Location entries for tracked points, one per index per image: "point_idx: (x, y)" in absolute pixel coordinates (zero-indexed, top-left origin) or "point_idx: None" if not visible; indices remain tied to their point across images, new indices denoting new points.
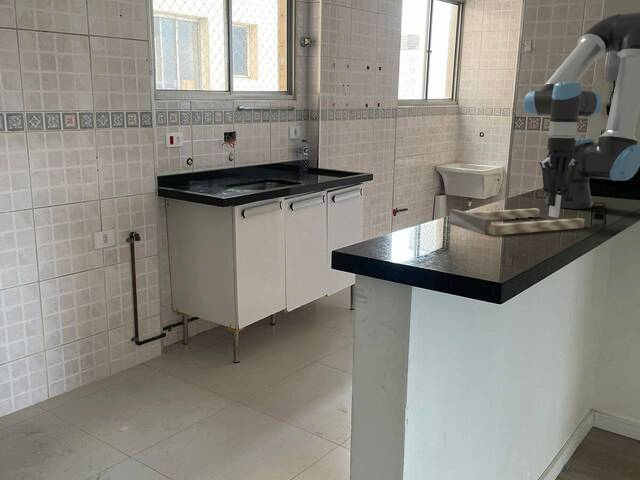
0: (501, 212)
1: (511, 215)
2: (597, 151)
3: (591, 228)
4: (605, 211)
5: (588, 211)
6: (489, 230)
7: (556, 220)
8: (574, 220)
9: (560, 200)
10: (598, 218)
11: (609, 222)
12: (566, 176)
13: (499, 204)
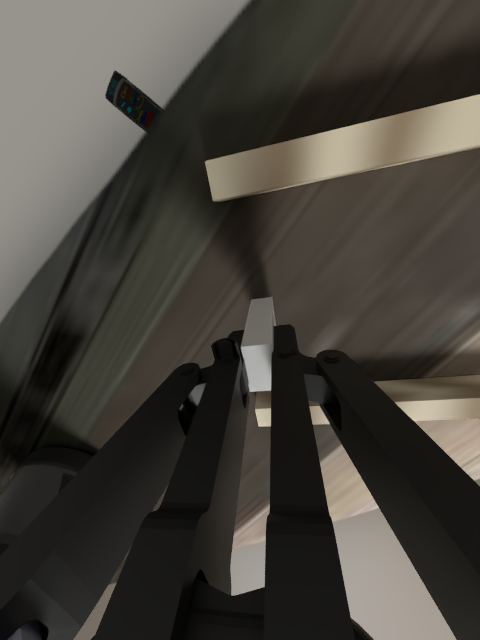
0: (453, 396)
1: (388, 389)
2: None
3: (185, 151)
4: (7, 416)
5: (55, 425)
6: None
7: (390, 141)
8: (274, 144)
9: (245, 332)
10: (66, 335)
11: (54, 266)
12: (144, 484)
13: (250, 533)
